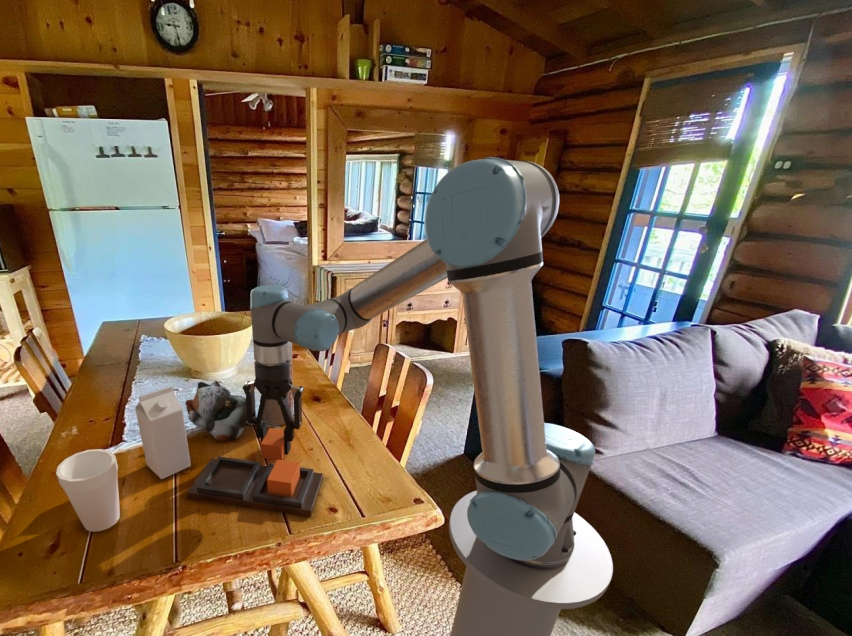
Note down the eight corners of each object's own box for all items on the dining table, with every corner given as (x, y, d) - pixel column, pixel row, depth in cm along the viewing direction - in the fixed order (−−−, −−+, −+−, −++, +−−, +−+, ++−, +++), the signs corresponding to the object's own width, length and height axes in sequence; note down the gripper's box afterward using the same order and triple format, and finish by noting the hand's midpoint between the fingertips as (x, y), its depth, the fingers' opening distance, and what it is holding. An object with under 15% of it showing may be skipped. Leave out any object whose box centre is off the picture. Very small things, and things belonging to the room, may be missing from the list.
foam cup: (139, 508, 87) (126, 454, 81) (105, 542, 79) (88, 485, 73) (99, 498, 89) (84, 445, 83) (62, 530, 81) (43, 474, 75)
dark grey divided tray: (323, 478, 97) (323, 468, 96) (311, 516, 86) (311, 506, 85) (211, 463, 101) (210, 453, 99) (187, 498, 90) (185, 487, 89)
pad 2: (300, 477, 95) (299, 462, 93) (291, 498, 89) (291, 483, 87) (277, 474, 95) (277, 459, 94) (267, 495, 89) (266, 479, 87)
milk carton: (146, 465, 99) (131, 391, 91) (175, 453, 104) (164, 380, 95) (161, 480, 95) (146, 403, 86) (191, 466, 99) (180, 392, 91)
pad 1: (290, 444, 107) (289, 430, 105) (282, 460, 101) (281, 446, 99) (270, 441, 108) (269, 427, 106) (261, 458, 102) (260, 443, 100)
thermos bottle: (299, 415, 121) (298, 317, 108) (281, 428, 115) (278, 326, 102) (276, 407, 124) (272, 311, 112) (257, 419, 118) (251, 319, 106)
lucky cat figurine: (233, 448, 106) (198, 405, 99) (201, 450, 113) (167, 410, 106) (262, 406, 116) (233, 365, 109) (231, 410, 123) (202, 372, 116)
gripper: (316, 356, 96) (316, 445, 106) (238, 349, 99) (245, 437, 109) (309, 370, 89) (309, 464, 100) (225, 362, 92) (234, 454, 102)
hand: (276, 449), depth 104 cm, fingers closed on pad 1, 5 cm apart
